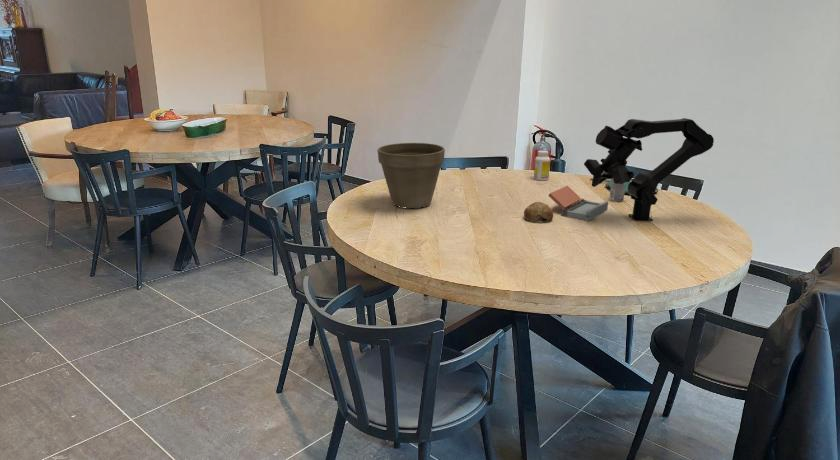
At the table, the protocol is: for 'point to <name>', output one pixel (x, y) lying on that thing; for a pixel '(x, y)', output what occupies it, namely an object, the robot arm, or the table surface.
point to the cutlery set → (625, 185)
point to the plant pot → (411, 172)
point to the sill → (573, 207)
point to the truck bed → (588, 210)
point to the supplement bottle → (542, 166)
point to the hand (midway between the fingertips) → (592, 186)
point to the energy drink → (617, 192)
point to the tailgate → (564, 197)
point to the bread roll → (538, 213)
